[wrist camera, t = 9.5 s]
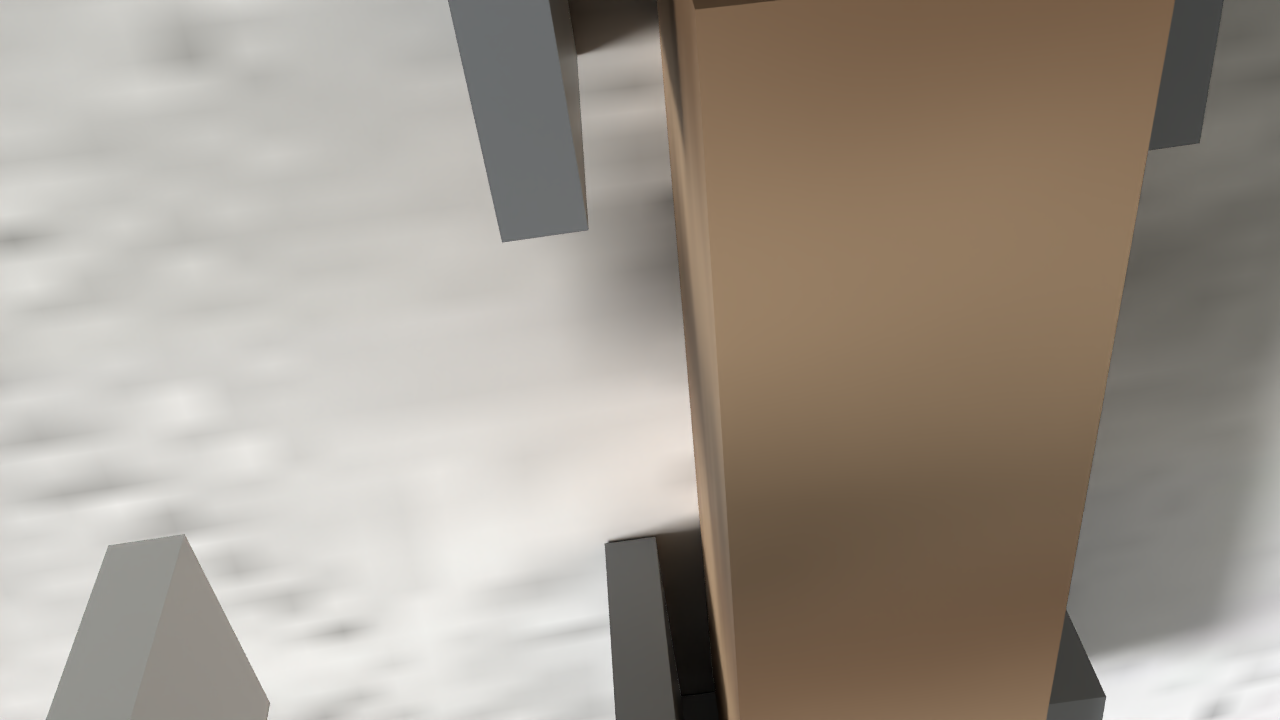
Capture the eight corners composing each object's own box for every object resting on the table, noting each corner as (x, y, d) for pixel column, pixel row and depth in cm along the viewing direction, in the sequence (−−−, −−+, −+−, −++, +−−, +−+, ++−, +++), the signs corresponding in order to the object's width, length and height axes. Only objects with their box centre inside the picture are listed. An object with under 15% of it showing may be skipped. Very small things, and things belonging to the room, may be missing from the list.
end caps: (414, -409, 12) (368, -356, 8) (1090, -512, 11) (1307, -501, 8) (642, 729, 22) (660, 947, 19) (994, 682, 22) (1073, 892, 19)
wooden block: (640, -177, 13) (694, 8, 9) (965, -213, 13) (1183, -45, 9) (710, 665, 21) (756, 978, 17) (908, 643, 21) (1004, 949, 17)
